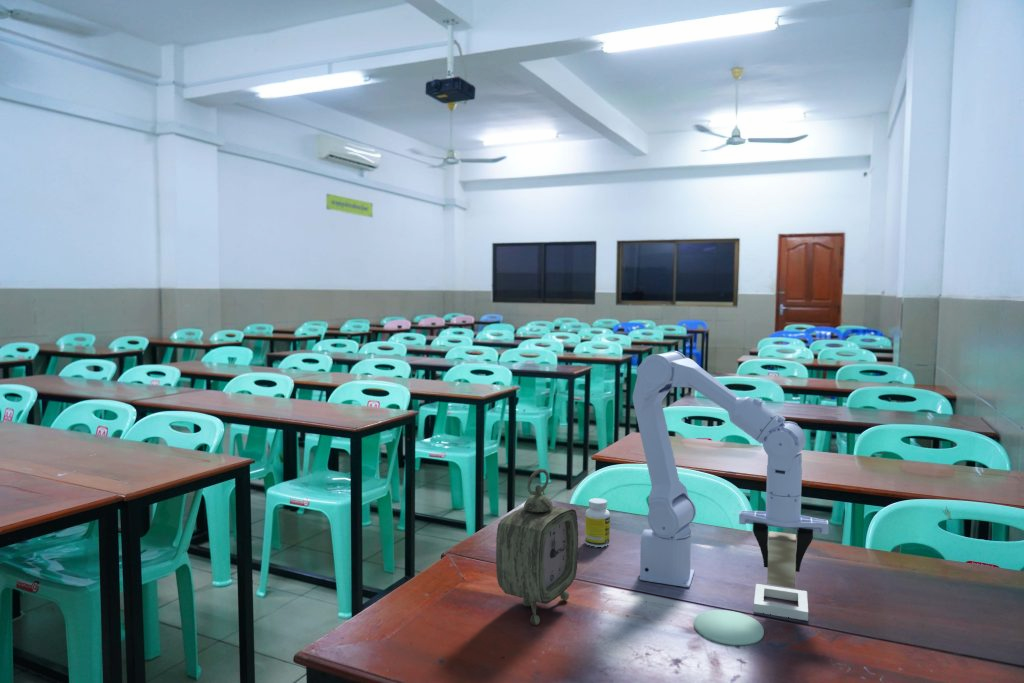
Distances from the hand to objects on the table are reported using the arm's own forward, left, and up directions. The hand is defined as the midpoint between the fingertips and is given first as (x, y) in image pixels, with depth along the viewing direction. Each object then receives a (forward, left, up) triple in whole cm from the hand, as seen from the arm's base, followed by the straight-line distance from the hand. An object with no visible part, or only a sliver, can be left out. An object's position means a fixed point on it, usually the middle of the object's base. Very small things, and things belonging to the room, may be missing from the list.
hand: (781, 567), depth 120 cm
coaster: (-8, -12, -7) cm, 16 cm away
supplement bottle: (-38, +17, -7) cm, 42 cm away
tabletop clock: (-40, -17, -7) cm, 44 cm away
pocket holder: (0, 0, -7) cm, 7 cm away
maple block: (0, 0, -2) cm, 2 cm away
